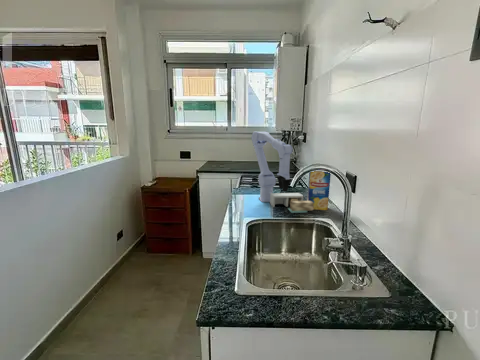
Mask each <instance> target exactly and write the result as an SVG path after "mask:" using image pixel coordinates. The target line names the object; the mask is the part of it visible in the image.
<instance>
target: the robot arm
mask: <svg viewBox="0 0 480 360" xmlns="http://www.w3.org/2000/svg"><path fill="white" fill-rule="evenodd" d="M251 142H252V146H253V149H254V152H255V155H256V156H255V157H256V159H257V164H258V166H259V170H260V173H259V174H258V176H257V179H258V185H259V186H260V190H259V191H260V195H259V197H258V200H260V202H261V203H270V193H273V192H274V187H275V185H276V183H277V181H278V187H279V189H282V192H288V189H289V186H290V184H291V182H292V178H291V177H290V165H291V164H290V163H291V155H292V153H293V151H294V149H293V146H292V145H291V144H286V142H284V141H282V140H281V138H274V136H272V135H271V134H270V132H268V131H255V130H254V131H253V132H252V134H251ZM267 143H269V144H270V145H271V147H272V148H273V149H274V150H276V151H277V153H278V157H279V158H278V159H279V162H278V164H279V165H278V166H279V167H278V173H276V176H275V175H274V173H273V172H272V171H270V168H269V165H268V162H267V161H268V160H267V157H266V153H265V151H264V146H266V145H267Z"/></svg>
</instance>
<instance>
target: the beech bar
mask: <svg viewBox="0 0 480 360" xmlns="http://www.w3.org/2000/svg"><path fill="white" fill-rule="evenodd" d="M313 205H314V202H312V201H307V200H303V201H290V205H289V208H290V209H291V210H292V211H307V212H308V211H314V209H313Z"/></svg>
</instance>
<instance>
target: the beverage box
mask: <svg viewBox="0 0 480 360" xmlns="http://www.w3.org/2000/svg"><path fill="white" fill-rule="evenodd" d="M331 174H332V173H331ZM331 174H330V173H328V172H325V171H314V172H310V173H308V183H307V184H308V186H307V198H306V199H307V200H306V201H312V202H314V205H313V210H316V211H317V210H318V211H319V210H321V211H328V207H329V198H330V185H331V176H332V175H331Z"/></svg>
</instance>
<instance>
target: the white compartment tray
mask: <svg viewBox="0 0 480 360" xmlns="http://www.w3.org/2000/svg"><path fill="white" fill-rule="evenodd" d="M290 201H304V195H303V194H302V193H301V192H274V193H270V202H269V204H270V206H271V207H272V208H275V207H276V206H275V205H284V206H285V207H287V208H289V206H290Z"/></svg>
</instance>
